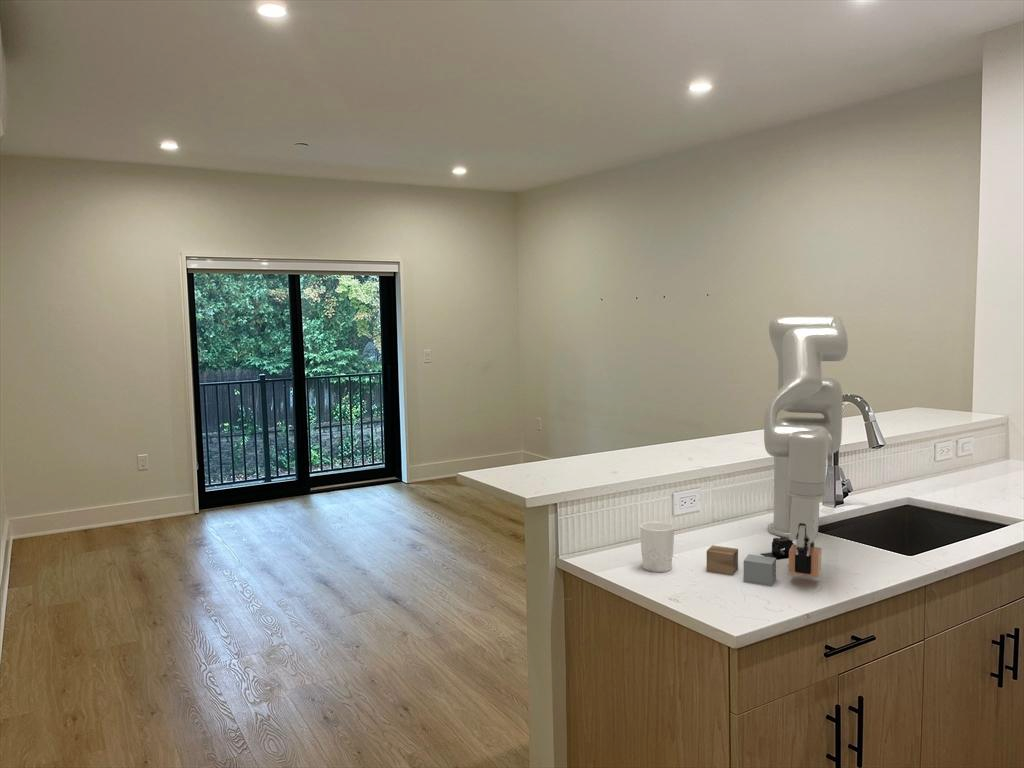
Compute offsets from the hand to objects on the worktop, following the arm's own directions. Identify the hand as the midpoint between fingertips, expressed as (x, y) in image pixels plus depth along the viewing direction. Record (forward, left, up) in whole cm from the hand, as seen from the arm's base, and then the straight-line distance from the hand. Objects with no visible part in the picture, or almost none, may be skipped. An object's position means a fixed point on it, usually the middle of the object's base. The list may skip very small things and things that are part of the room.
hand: (804, 567), depth 163 cm
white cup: (+6, -32, -3) cm, 32 cm away
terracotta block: (0, 0, -1) cm, 1 cm away
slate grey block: (+4, -9, -3) cm, 10 cm away
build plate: (-18, -8, -4) cm, 20 cm away
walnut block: (+1, -18, -3) cm, 18 cm away
